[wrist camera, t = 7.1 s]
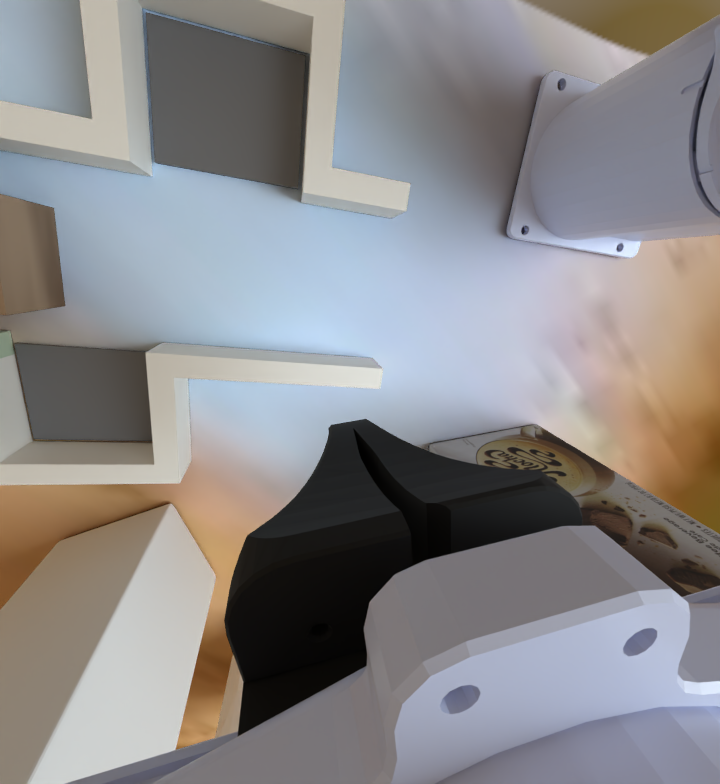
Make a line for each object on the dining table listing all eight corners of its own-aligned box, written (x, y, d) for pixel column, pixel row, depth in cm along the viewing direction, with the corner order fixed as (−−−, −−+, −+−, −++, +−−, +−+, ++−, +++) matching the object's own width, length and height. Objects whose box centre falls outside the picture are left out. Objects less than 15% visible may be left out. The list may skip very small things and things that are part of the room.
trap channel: (414, 51, 16) (438, 10, 14) (358, 460, 24) (367, 484, 21) (-271, -152, 11) (-441, -281, 8) (-74, 459, 18) (-134, 490, 16)
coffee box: (428, 513, 26) (607, 824, 12) (427, 441, 24) (649, 713, 9) (532, 491, 28) (810, 743, 13) (540, 421, 26) (890, 630, 11)
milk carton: (172, 500, 22) (-298, 1429, 4) (217, 575, 25) (39, 1339, 7) (60, 537, 21) (-1032, 1813, 4) (119, 611, 24) (-352, 1553, 6)
